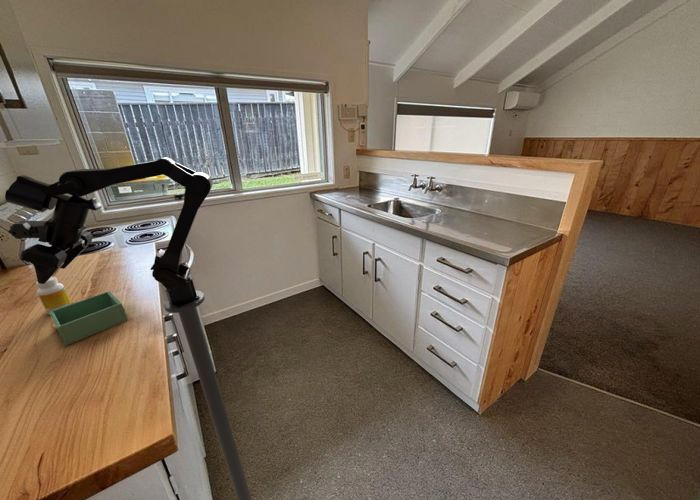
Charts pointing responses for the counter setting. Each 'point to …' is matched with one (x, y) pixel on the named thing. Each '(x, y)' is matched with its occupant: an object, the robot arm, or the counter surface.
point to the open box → (88, 317)
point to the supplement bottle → (52, 295)
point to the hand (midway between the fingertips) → (52, 275)
